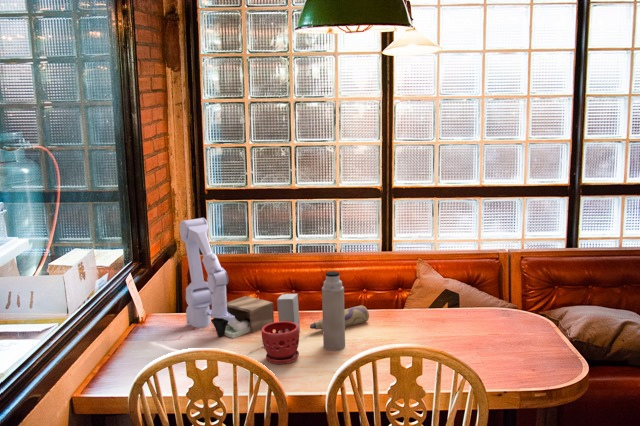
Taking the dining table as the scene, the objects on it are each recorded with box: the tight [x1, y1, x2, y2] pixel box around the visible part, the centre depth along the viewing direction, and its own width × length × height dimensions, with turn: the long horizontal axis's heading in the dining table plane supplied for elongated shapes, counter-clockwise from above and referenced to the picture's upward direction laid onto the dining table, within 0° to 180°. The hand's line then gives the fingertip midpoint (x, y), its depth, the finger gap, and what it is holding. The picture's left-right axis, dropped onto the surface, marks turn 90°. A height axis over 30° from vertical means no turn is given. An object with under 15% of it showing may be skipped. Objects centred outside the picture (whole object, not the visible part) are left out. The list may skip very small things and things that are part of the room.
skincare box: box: [276, 293, 301, 334], centre depth 251 cm, size 8×7×16 cm
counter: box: [227, 295, 275, 334], centre depth 262 cm, size 15×12×10 cm
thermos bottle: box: [321, 270, 346, 351], centre depth 238 cm, size 8×8×28 cm
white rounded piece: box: [227, 318, 240, 329], centre depth 257 cm, size 4×4×6 cm
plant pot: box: [260, 321, 300, 365], centre depth 229 cm, size 13×13×12 cm
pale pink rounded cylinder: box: [234, 319, 250, 332], centre depth 255 cm, size 4×4×6 cm
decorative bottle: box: [309, 305, 370, 330], centre depth 259 cm, size 26×8×7 cm, turn 122°
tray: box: [224, 320, 251, 339], centre depth 256 cm, size 9×13×3 cm
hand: (221, 336), depth 251 cm, fingers closed
